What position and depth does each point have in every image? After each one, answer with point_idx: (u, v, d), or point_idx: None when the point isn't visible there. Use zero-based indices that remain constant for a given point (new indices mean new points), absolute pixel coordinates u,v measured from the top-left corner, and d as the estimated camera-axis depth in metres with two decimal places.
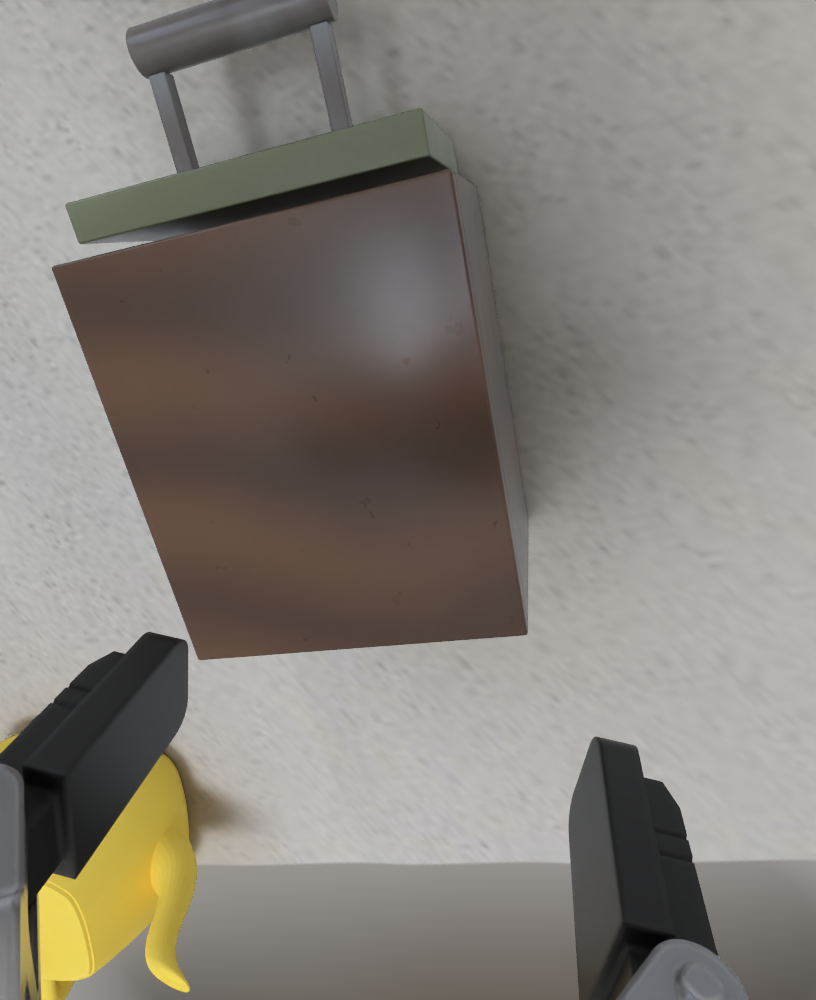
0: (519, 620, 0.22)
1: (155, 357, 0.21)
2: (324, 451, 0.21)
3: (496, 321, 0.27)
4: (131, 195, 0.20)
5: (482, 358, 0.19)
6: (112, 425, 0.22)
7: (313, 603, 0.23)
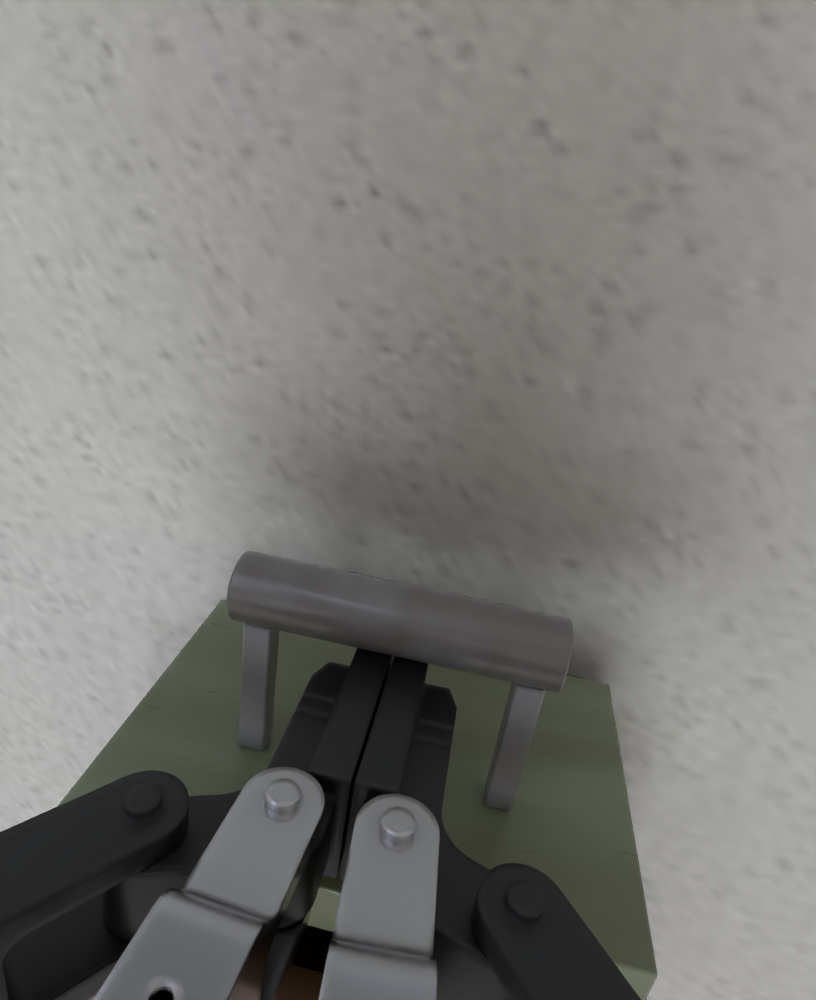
0: None
1: None
2: None
3: None
4: None
5: None
6: None
7: None
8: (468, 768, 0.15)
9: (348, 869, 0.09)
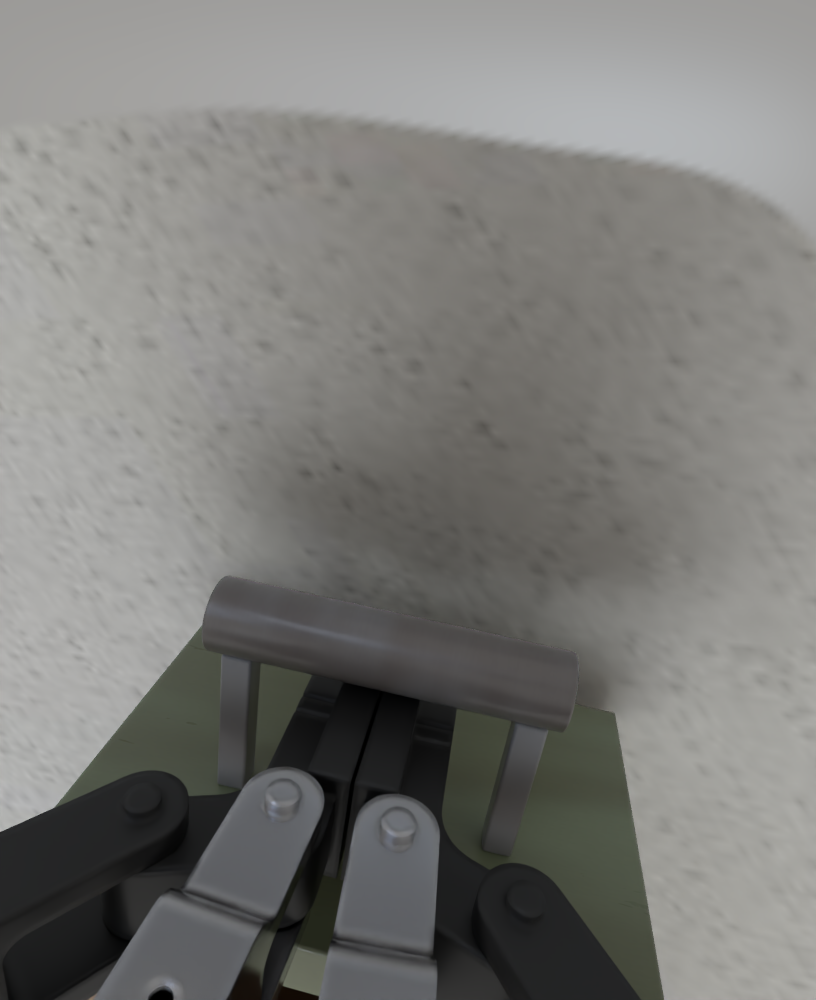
0: None
1: None
2: None
3: None
4: None
5: None
6: None
7: None
8: (465, 808, 0.14)
9: (348, 869, 0.09)
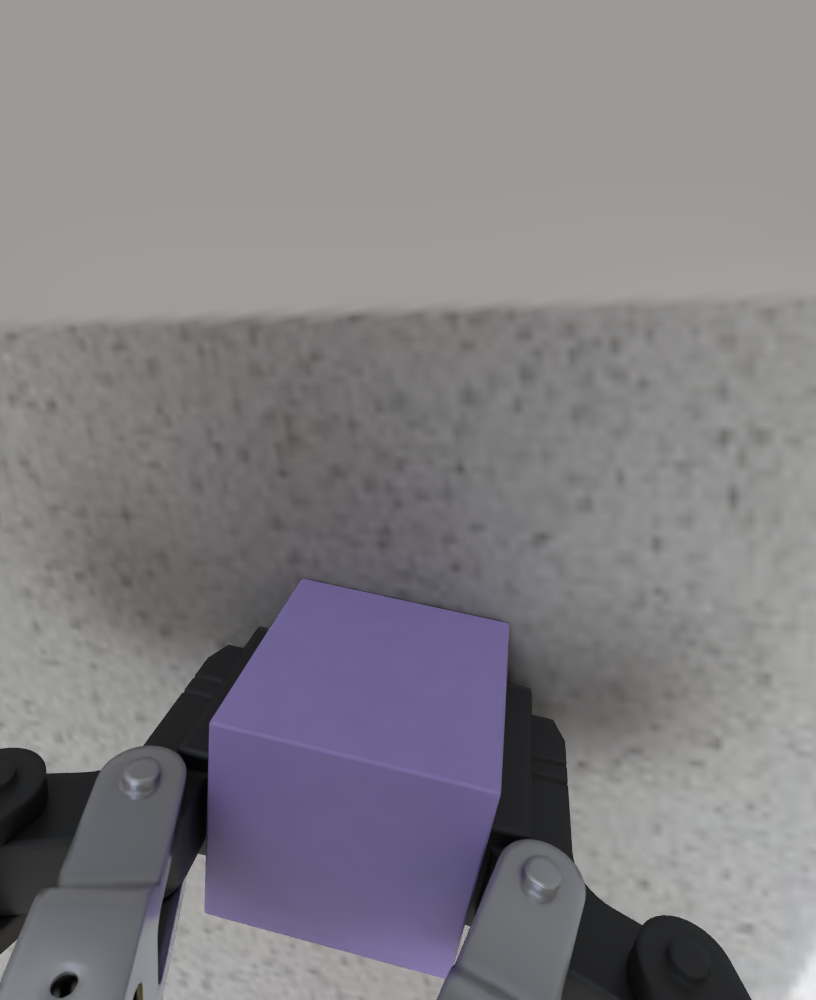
0: None
1: None
2: None
3: None
4: None
5: None
6: None
7: None
8: None
9: (501, 924, 0.08)
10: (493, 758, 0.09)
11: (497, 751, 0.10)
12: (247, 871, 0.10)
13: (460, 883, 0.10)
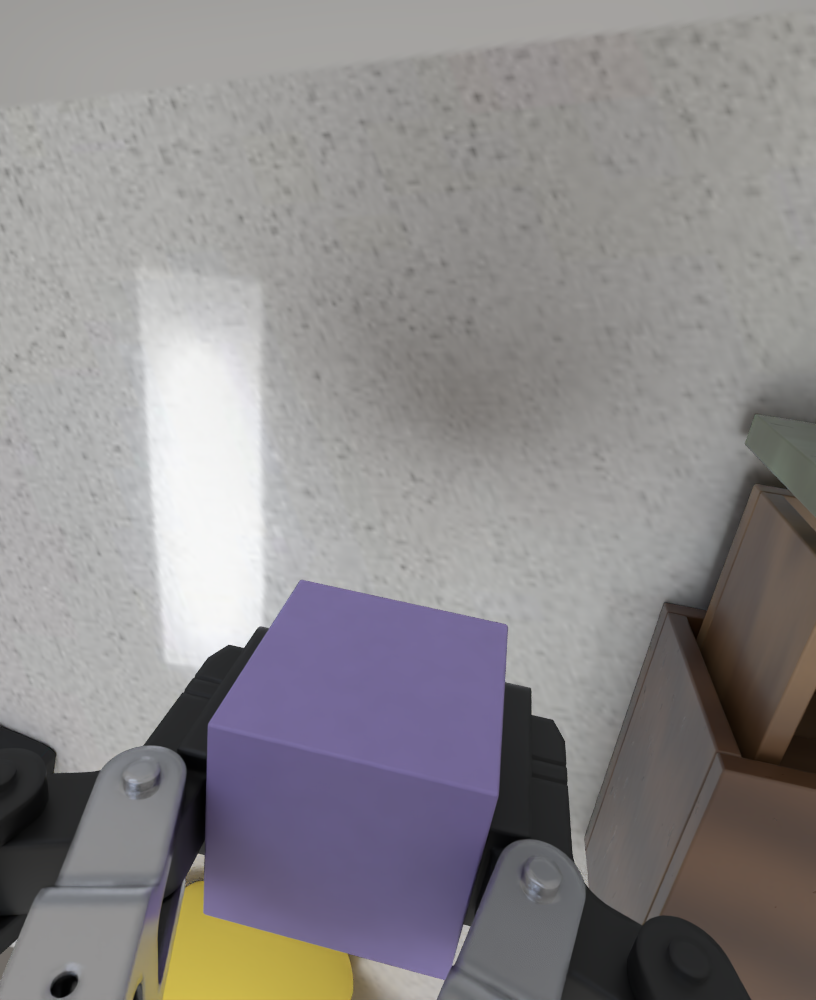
0: None
1: (771, 864, 0.21)
2: None
3: None
4: None
5: None
6: (677, 886, 0.22)
7: None
8: None
9: (500, 924, 0.08)
10: (491, 760, 0.10)
11: (495, 753, 0.10)
12: (246, 872, 0.10)
13: (458, 886, 0.10)
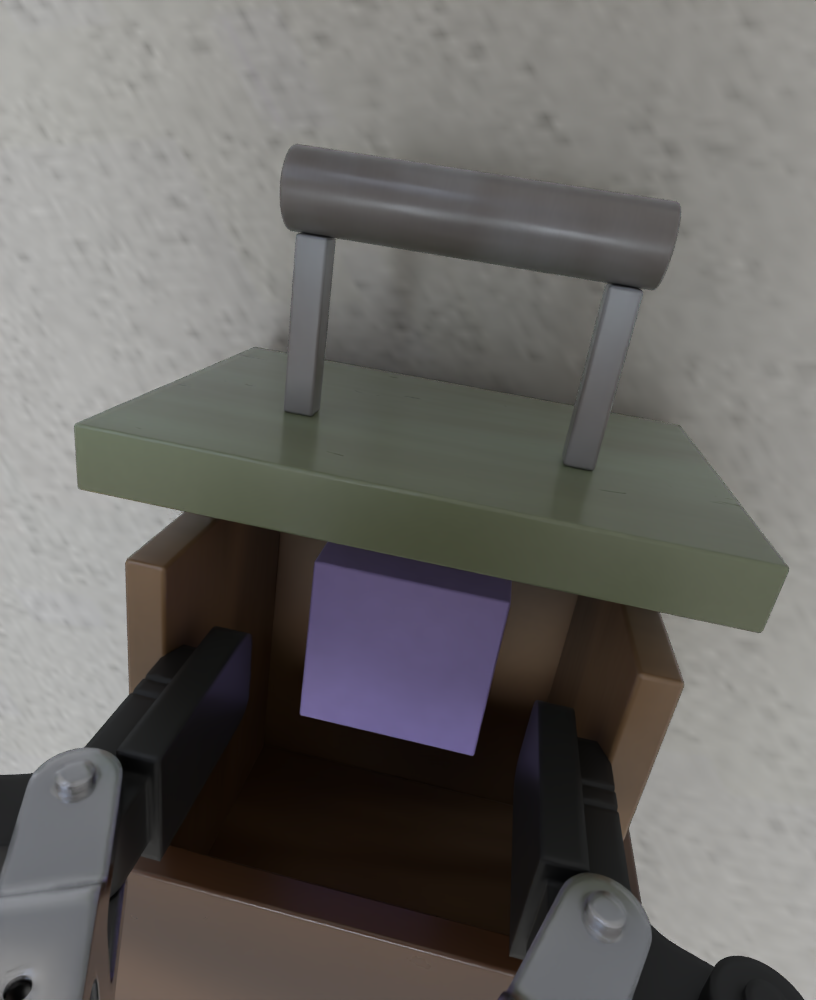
0: None
1: (157, 976, 0.15)
2: None
3: None
4: (205, 464, 0.11)
5: None
6: None
7: None
8: (540, 447, 0.13)
9: (567, 967, 0.08)
10: (505, 587, 0.14)
11: (507, 583, 0.14)
12: (333, 677, 0.15)
13: (483, 675, 0.14)
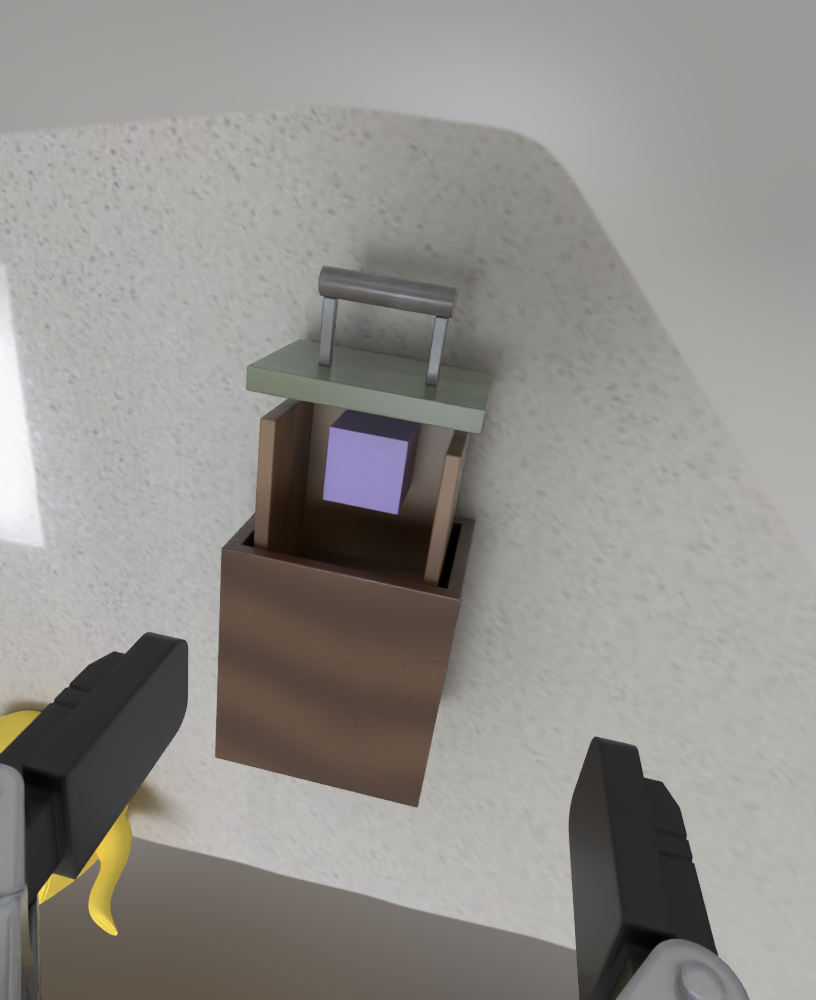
0: (415, 799, 0.39)
1: (263, 610, 0.35)
2: (341, 687, 0.36)
3: None
4: (293, 379, 0.31)
5: (444, 678, 0.35)
6: (220, 630, 0.36)
7: (301, 753, 0.39)
8: (419, 378, 0.33)
9: None
10: (408, 437, 0.34)
11: (409, 436, 0.34)
12: (337, 479, 0.35)
13: (399, 475, 0.35)
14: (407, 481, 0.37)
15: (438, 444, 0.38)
